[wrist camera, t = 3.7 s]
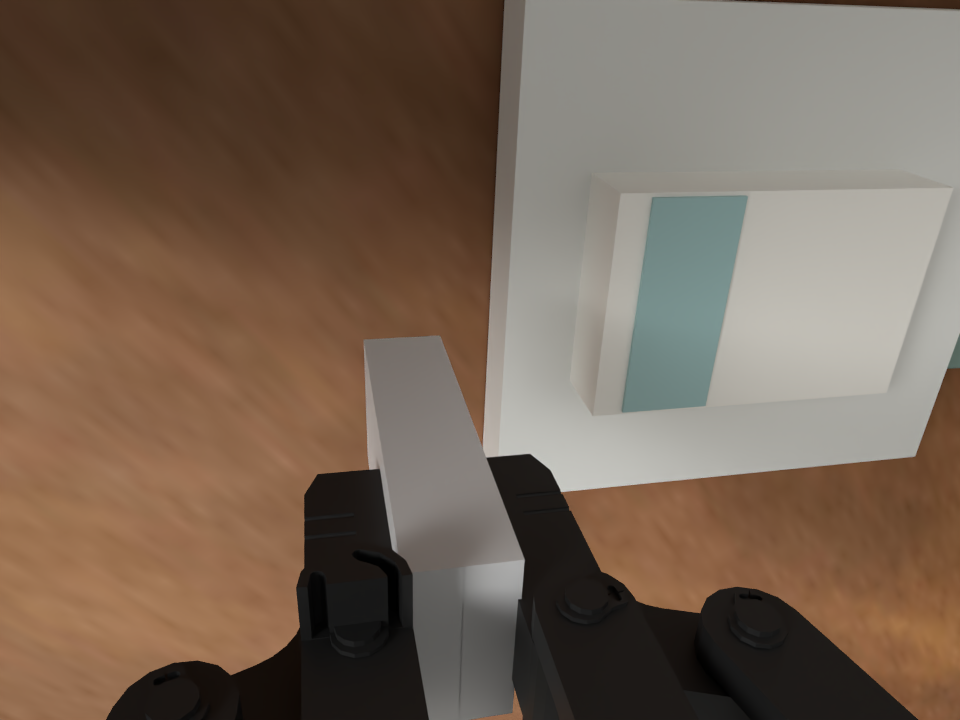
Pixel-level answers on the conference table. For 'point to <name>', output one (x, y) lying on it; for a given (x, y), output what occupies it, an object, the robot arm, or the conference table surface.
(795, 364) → the card
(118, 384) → the conference table surface
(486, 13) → the conference table surface
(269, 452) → the conference table surface
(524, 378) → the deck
